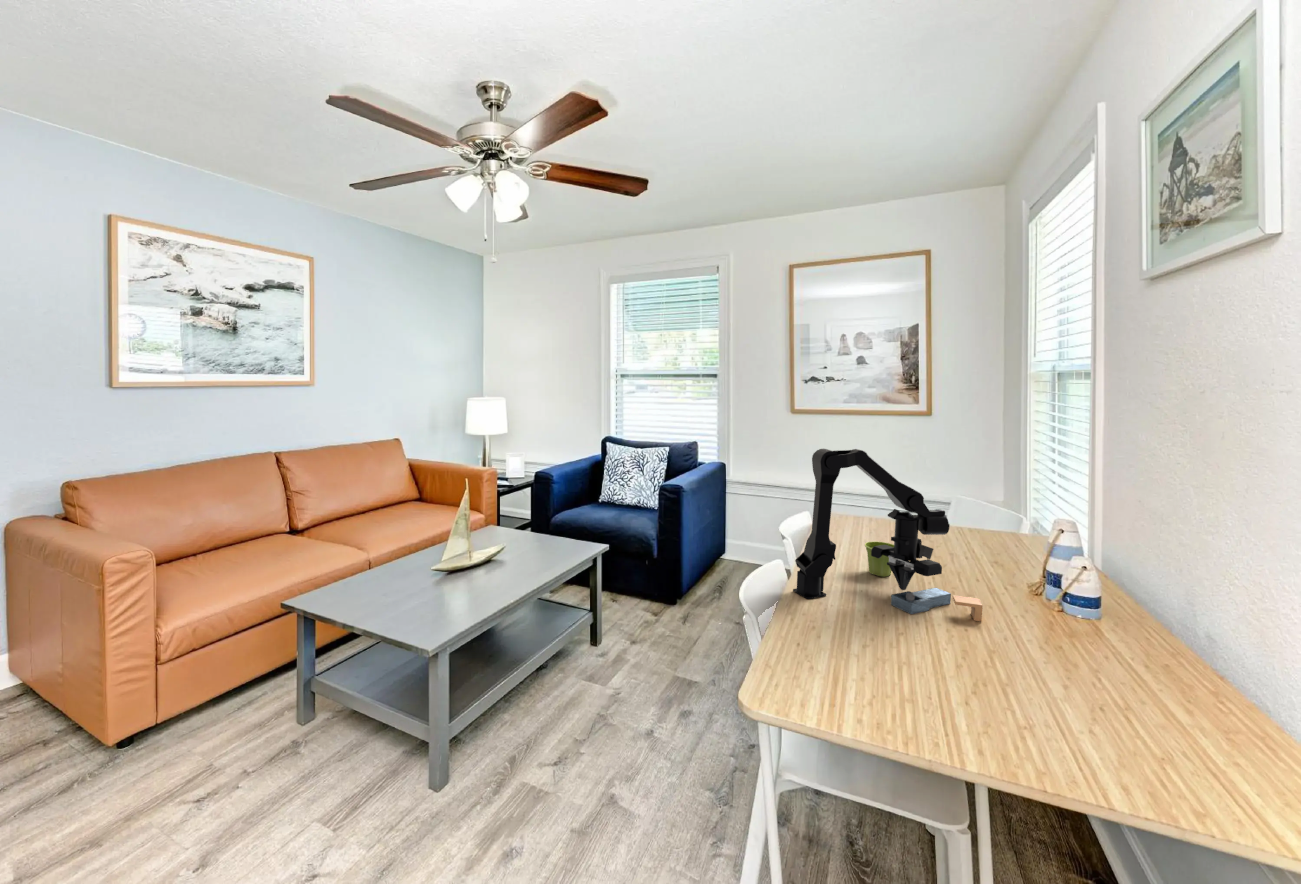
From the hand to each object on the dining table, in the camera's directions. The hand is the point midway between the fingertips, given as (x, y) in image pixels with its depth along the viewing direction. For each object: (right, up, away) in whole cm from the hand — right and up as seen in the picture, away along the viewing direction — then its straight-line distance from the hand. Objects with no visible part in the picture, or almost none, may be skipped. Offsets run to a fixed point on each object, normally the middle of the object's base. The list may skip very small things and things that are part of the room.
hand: (903, 589), depth 143 cm
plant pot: (+1, 0, +16) cm, 16 cm away
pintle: (-3, -2, -10) cm, 10 cm away
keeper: (+8, -2, -14) cm, 16 cm away
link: (+1, -2, -8) cm, 8 cm away
